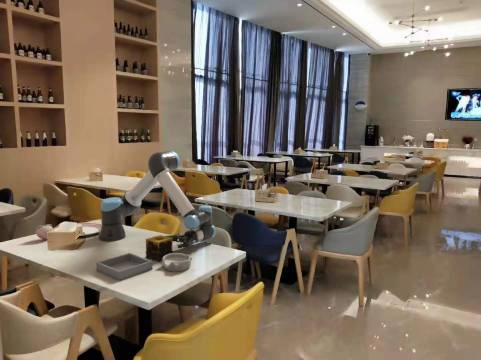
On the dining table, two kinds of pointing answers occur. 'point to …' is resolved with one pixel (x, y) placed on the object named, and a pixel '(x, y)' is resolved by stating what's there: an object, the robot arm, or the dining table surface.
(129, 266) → the tray
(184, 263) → the dish
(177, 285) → the dining table surface
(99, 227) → the dinner plate
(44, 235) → the decorative fruit
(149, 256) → the candle
